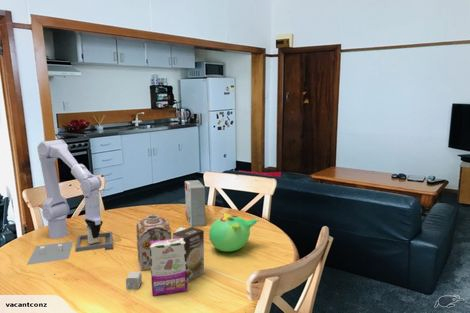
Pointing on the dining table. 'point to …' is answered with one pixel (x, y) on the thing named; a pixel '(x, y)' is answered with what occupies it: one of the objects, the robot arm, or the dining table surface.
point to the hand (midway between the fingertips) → (94, 236)
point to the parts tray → (107, 245)
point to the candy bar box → (168, 266)
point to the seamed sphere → (180, 229)
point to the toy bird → (230, 232)
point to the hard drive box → (195, 203)
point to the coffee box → (193, 251)
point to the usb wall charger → (133, 280)
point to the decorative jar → (150, 237)
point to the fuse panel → (50, 253)
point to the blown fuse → (90, 237)
